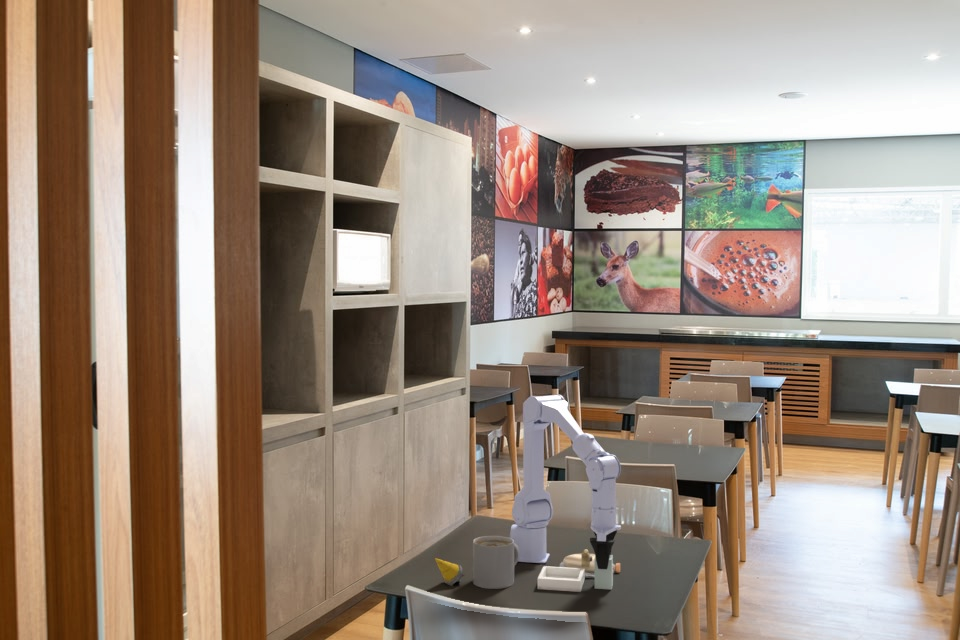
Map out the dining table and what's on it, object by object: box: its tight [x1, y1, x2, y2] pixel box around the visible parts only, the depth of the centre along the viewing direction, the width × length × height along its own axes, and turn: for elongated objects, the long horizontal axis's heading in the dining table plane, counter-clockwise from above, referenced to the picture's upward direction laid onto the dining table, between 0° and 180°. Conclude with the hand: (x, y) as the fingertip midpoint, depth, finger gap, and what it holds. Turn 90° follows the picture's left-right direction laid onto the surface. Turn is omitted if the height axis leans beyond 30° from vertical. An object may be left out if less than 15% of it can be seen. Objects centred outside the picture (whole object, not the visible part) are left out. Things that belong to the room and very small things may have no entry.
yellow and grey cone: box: [434, 557, 465, 586], centre depth 209 cm, size 5×5×10 cm
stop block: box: [594, 554, 614, 590], centre depth 207 cm, size 4×4×7 cm
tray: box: [537, 565, 586, 593], centre depth 209 cm, size 10×10×2 cm
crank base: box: [559, 560, 621, 579], centre depth 220 cm, size 15×14×2 cm
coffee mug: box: [472, 535, 519, 590], centre depth 211 cm, size 13×10×10 cm
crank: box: [563, 548, 595, 572], centre depth 220 cm, size 13×12×5 cm
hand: (603, 564), depth 207 cm, fingers open, 7 cm apart
